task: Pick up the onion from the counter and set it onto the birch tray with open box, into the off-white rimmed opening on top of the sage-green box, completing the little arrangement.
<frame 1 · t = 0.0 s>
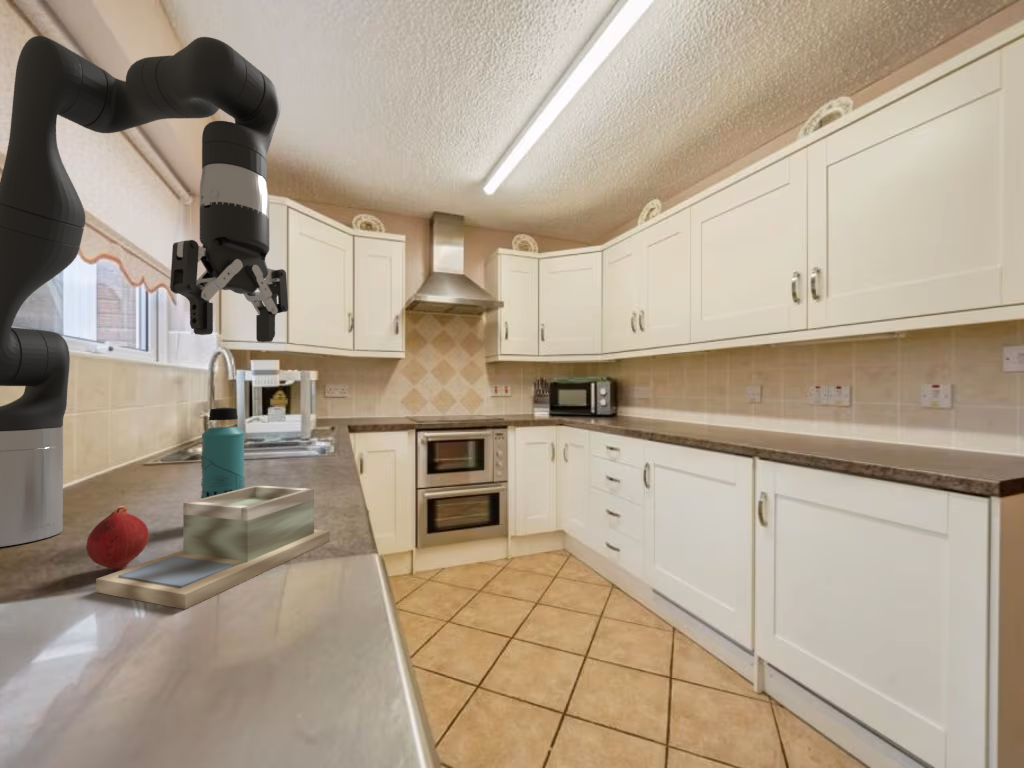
hand: (236, 338, 55), 29 cm above the countertop, fingers open, 8 cm apart
onion: (118, 571, 55), on the countertop
beverage bottle: (223, 523, 75), on the countertop
tray with open box: (229, 562, 56), on the countertop
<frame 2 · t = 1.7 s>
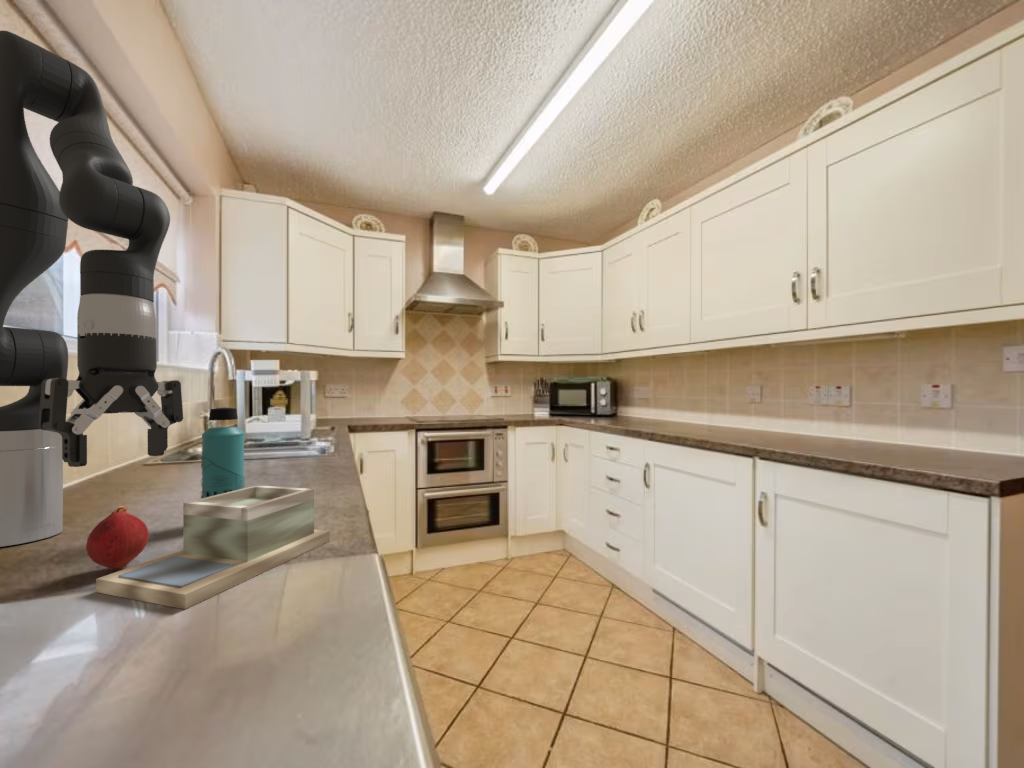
hand: (119, 460, 55), 14 cm above the countertop, fingers open, 8 cm apart
nothing on the countertop moved.
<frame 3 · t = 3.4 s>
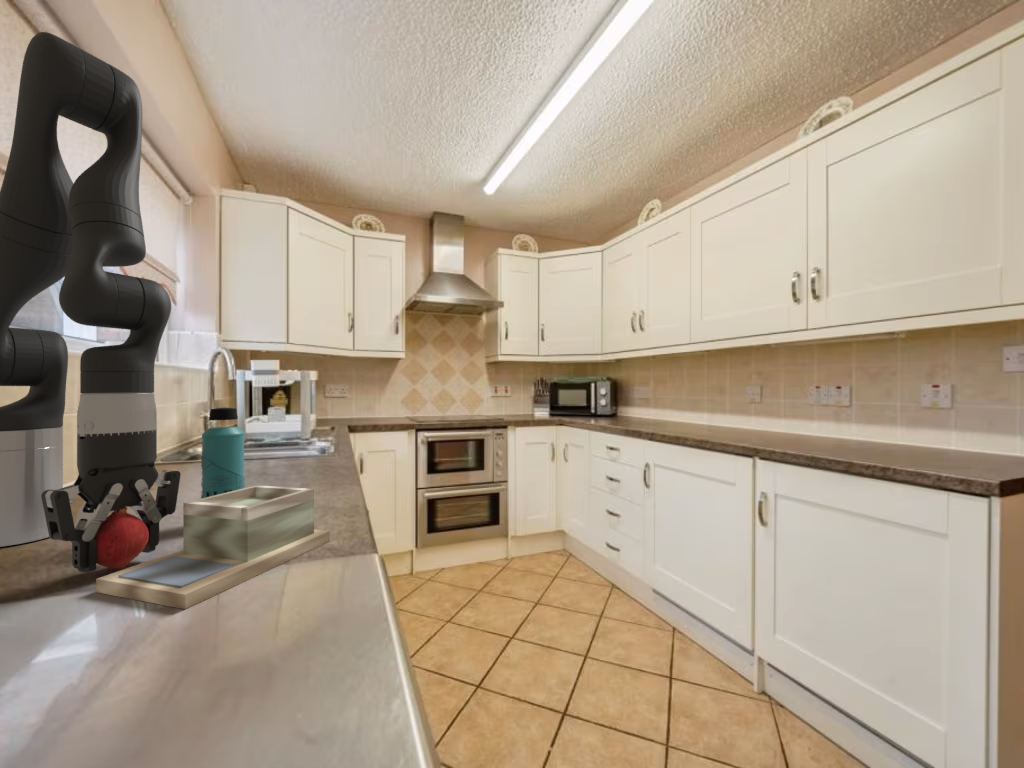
hand: (118, 560, 55), 1 cm above the countertop, fingers closed on onion, 6 cm apart
onion: (118, 571, 55), on the countertop, touching gripper
everything else where it was.
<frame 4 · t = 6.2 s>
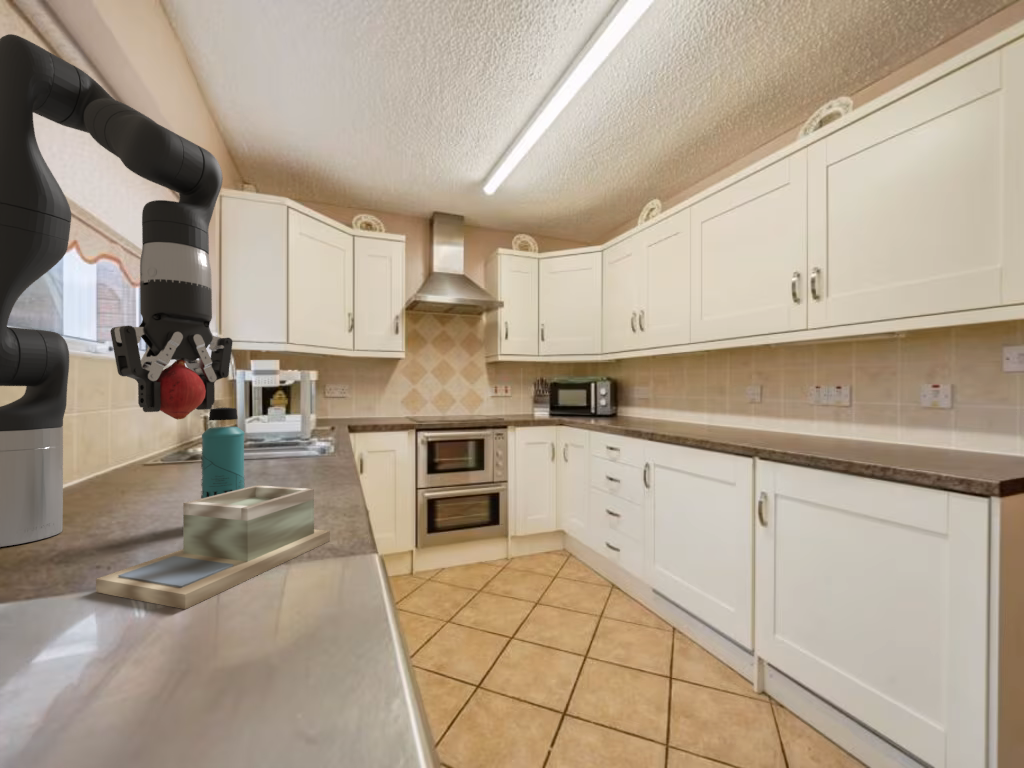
hand: (178, 410, 57), 20 cm above the countertop, fingers closed on onion, 6 cm apart
onion: (178, 421, 57), point 19 cm above the countertop, touching gripper
everything else where it was.
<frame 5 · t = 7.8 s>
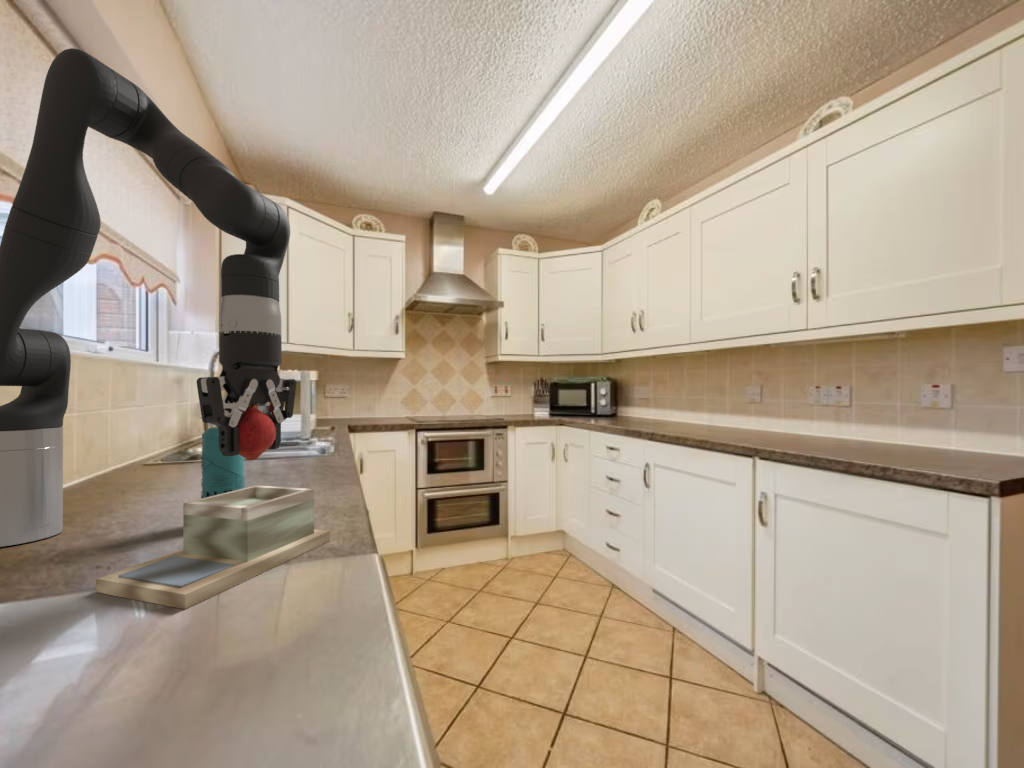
hand: (251, 451, 60), 14 cm above the countertop, fingers closed on onion, 6 cm apart
onion: (252, 461, 60), point 13 cm above the countertop, touching gripper
everything else where it was.
when the fingers open (10 cm above the countertop, at t = 9.1 s): onion drops 2 cm, resting on tray with open box.
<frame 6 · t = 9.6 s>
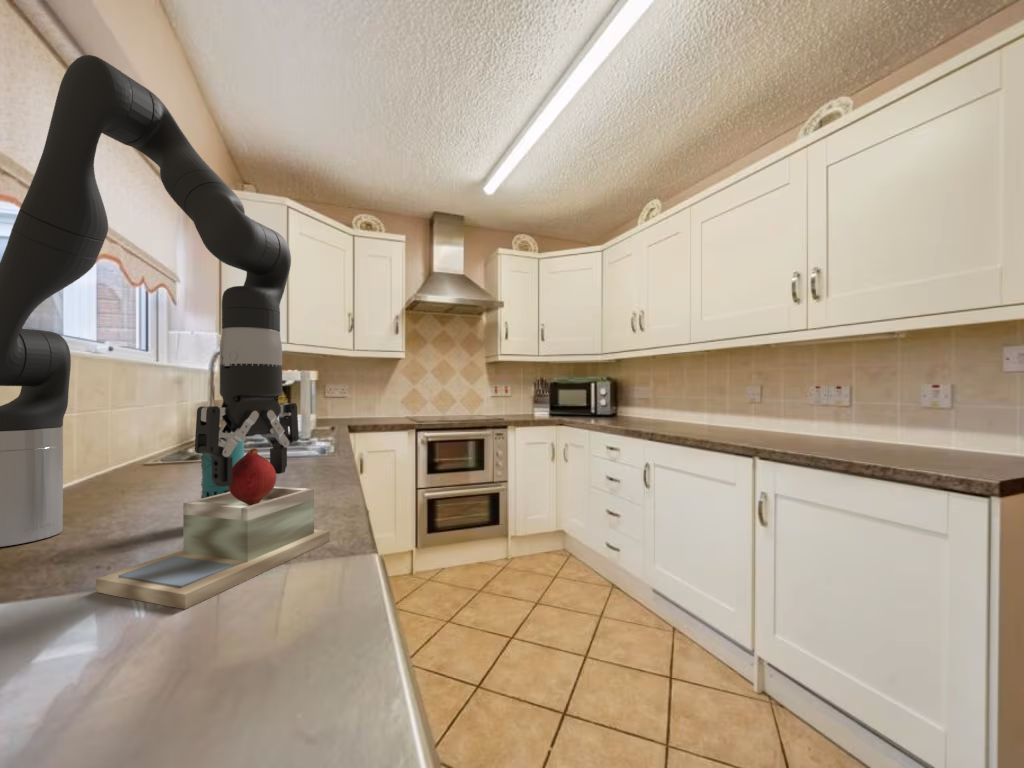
hand: (252, 479, 60), 10 cm above the countertop, fingers open, 8 cm apart
onion: (253, 507, 60), point 6 cm above the countertop, touching tray with open box
everything else where it was.
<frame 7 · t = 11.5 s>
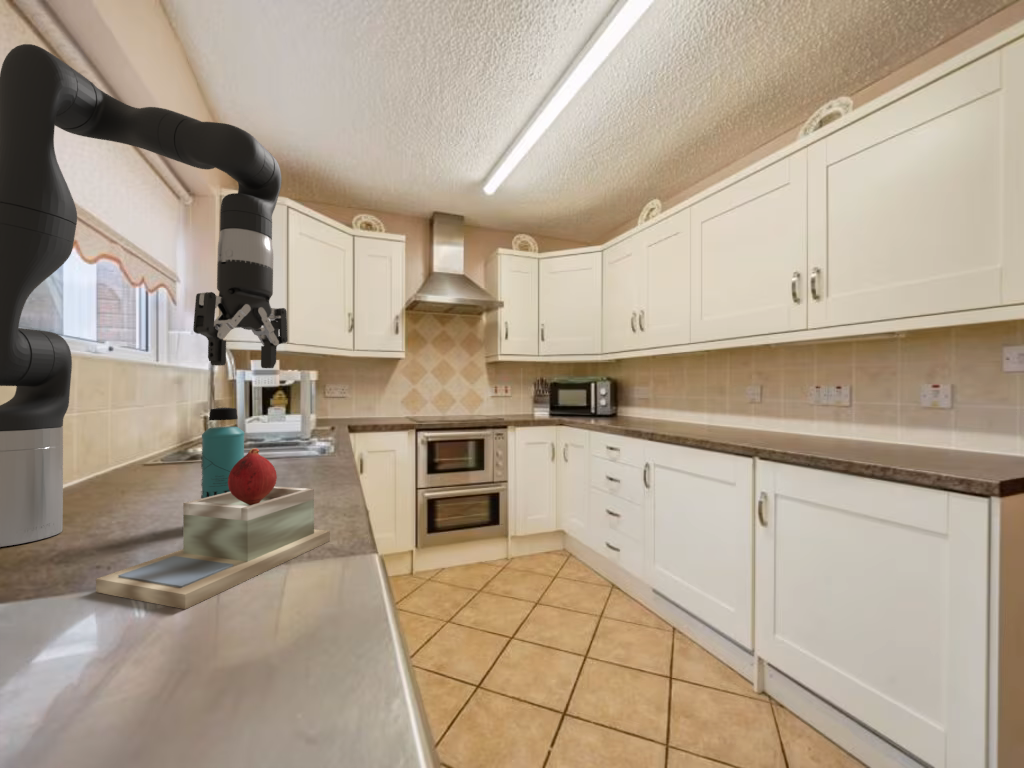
hand: (244, 366, 68), 27 cm above the countertop, fingers open, 8 cm apart
nothing on the countertop moved.
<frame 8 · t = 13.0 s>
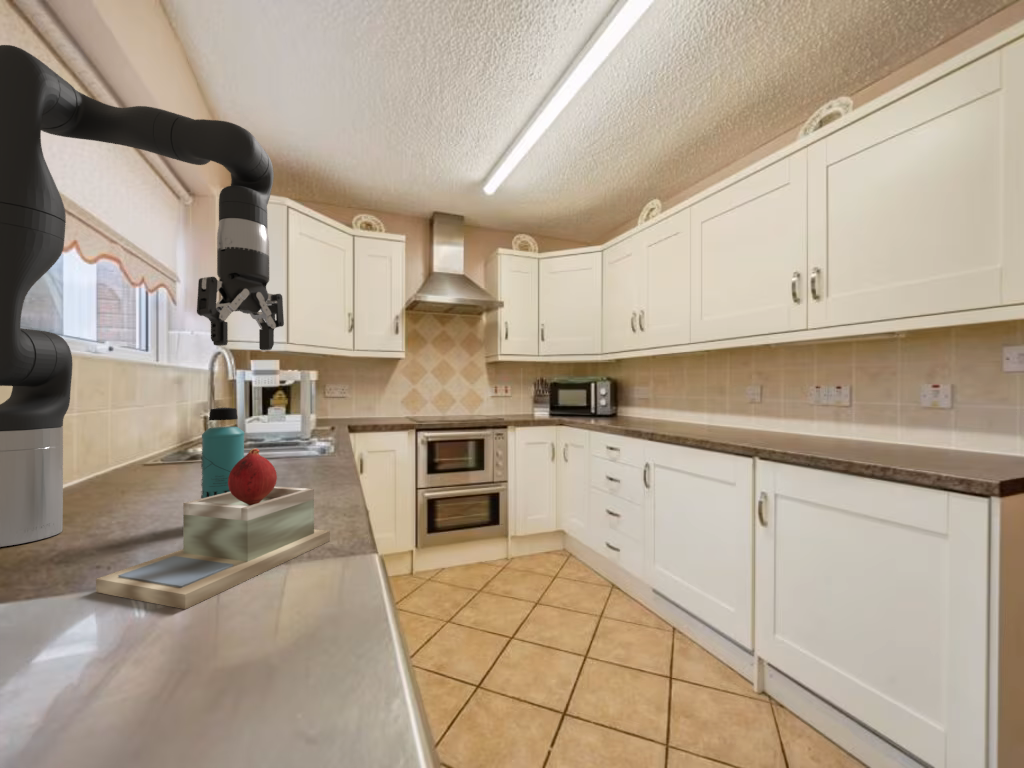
hand: (244, 347, 72), 30 cm above the countertop, fingers open, 8 cm apart
nothing on the countertop moved.
at the end: onion 0.2 cm from the target spot on the tray with open box, point 6.3 cm above the tray with open box's base; the gripper is holding nothing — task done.
